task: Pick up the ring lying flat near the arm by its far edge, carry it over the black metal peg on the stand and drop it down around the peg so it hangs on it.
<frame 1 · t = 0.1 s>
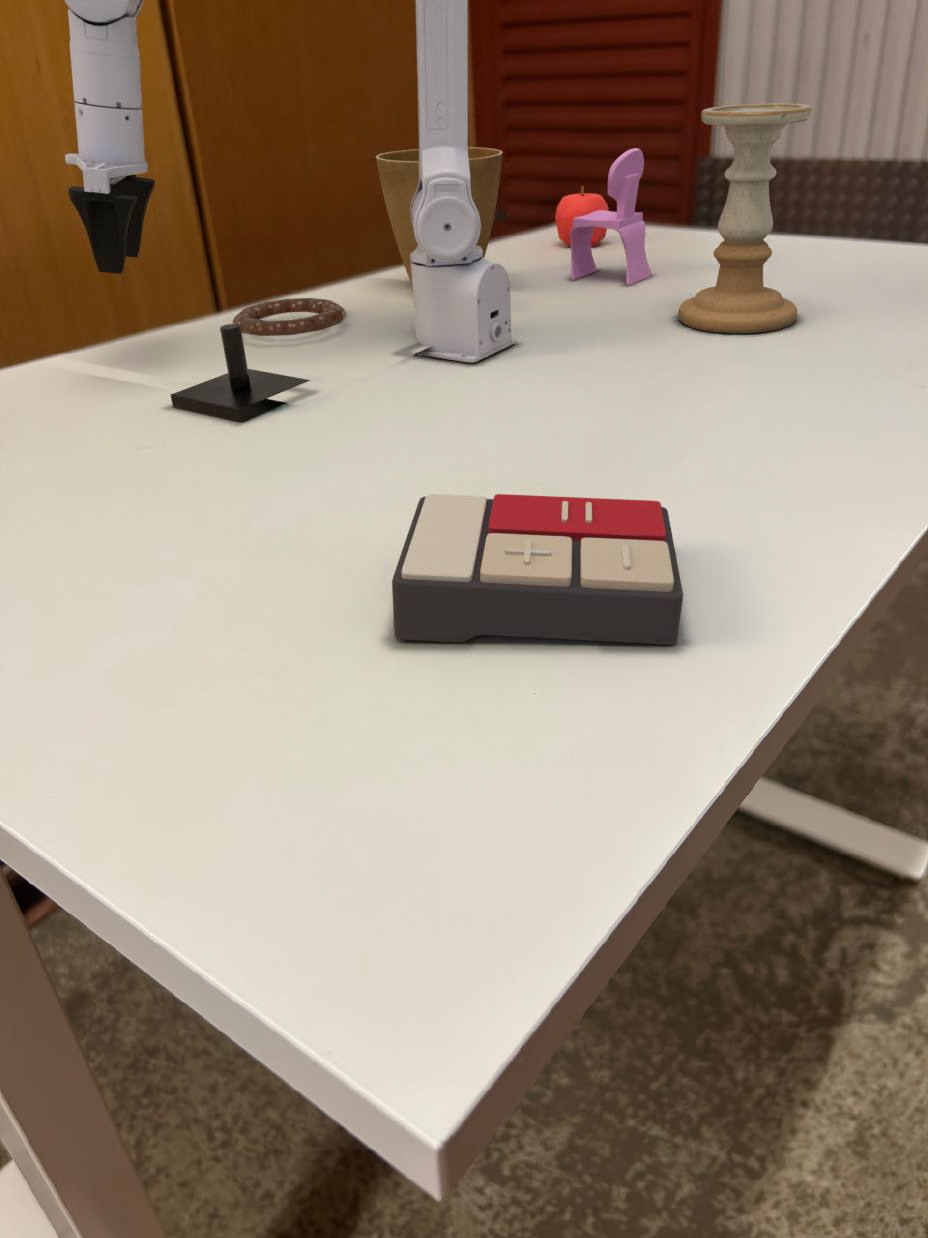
hand: (119, 263, 92), 11 cm above the table, tool pointing down, fingers open, 7 cm apart
apple: (581, 245, 143), on the table
candle holder: (736, 320, 103), on the table
toy chair: (609, 278, 123), on the table
plant pot: (447, 294, 121), on the table
calculator: (538, 595, 55), on the table
peg stand: (243, 399, 88), on the table
ring: (289, 319, 108), point 1 cm above the table
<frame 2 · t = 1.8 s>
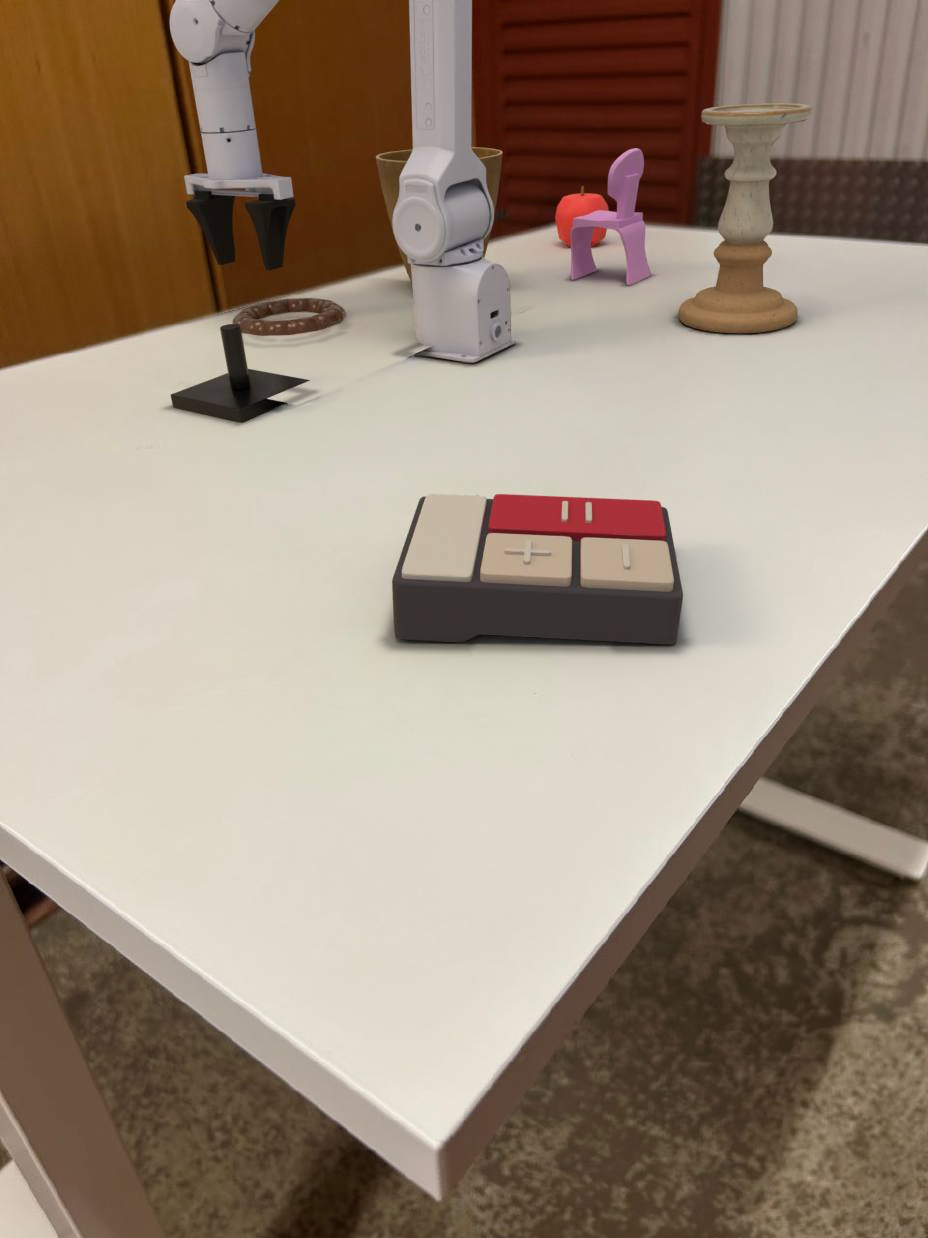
hand: (250, 265, 108), 7 cm above the table, tool pointing down, fingers open, 7 cm apart
nothing on the table moved.
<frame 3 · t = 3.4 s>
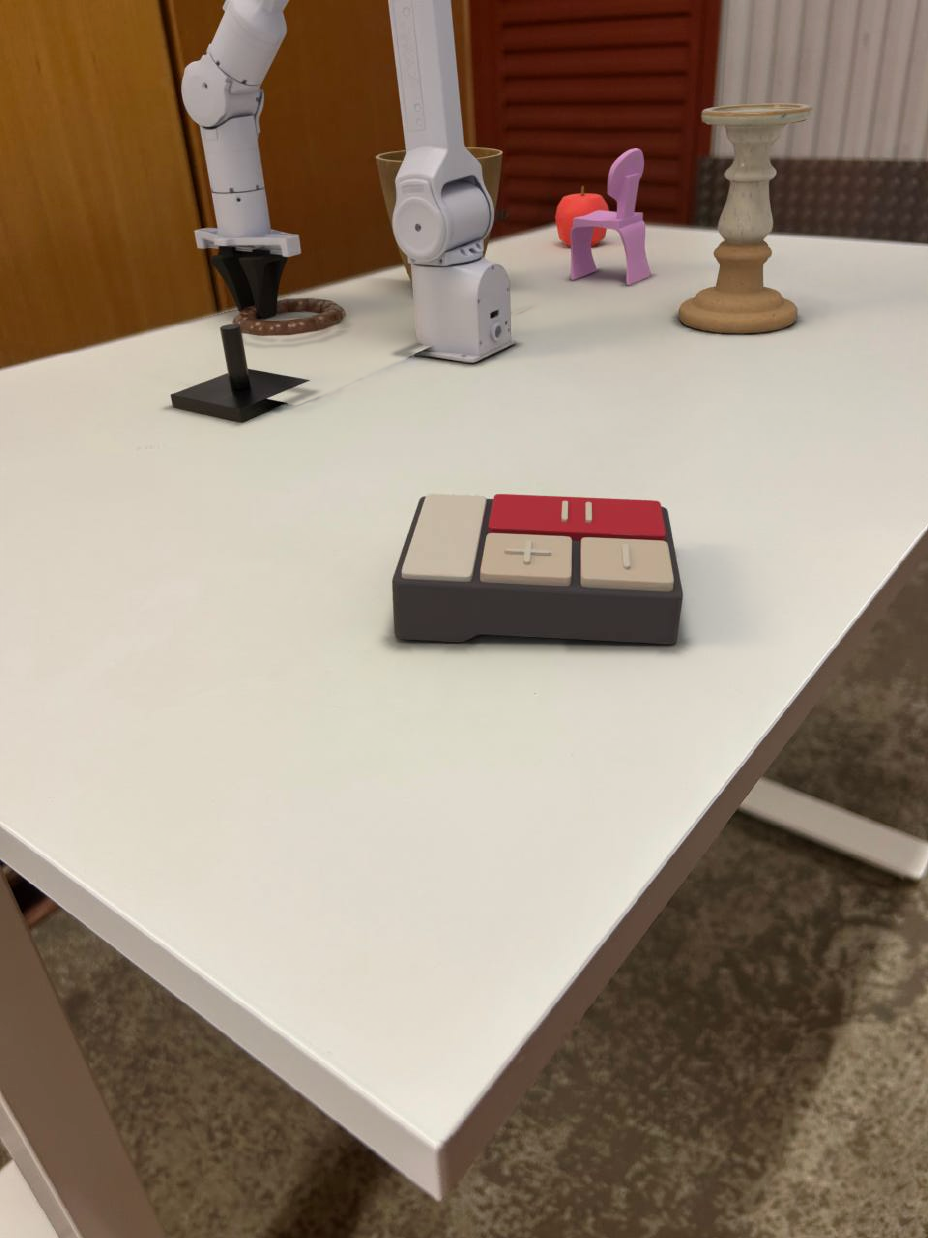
hand: (258, 317, 111), 1 cm above the table, tool pointing down, fingers closed on ring, 2 cm apart
ring: (289, 319, 108), point 1 cm above the table, touching gripper
everything else where it was.
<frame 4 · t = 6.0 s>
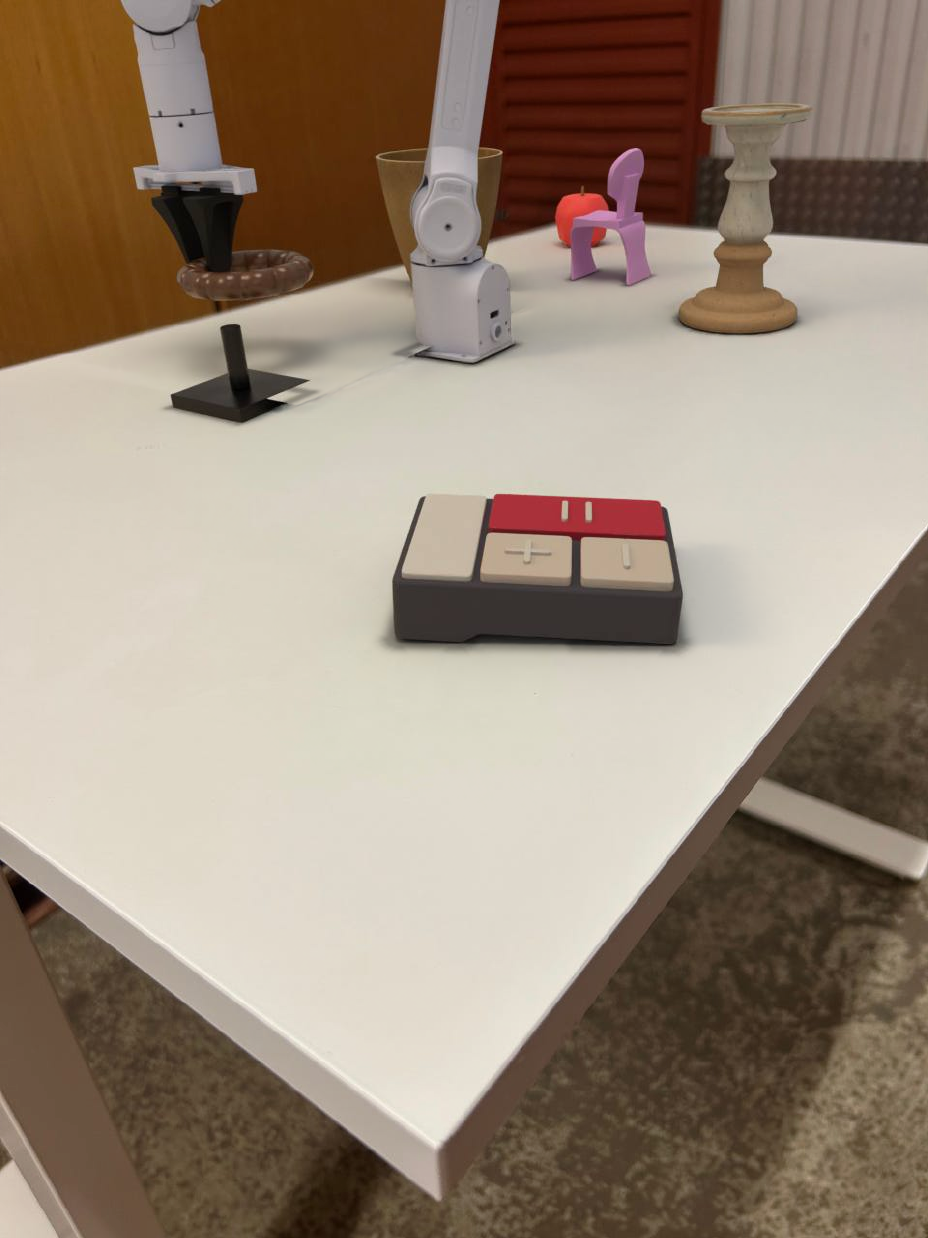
hand: (210, 271, 93), 9 cm above the table, tool pointing down, fingers closed on ring, 2 cm apart
ring: (245, 273, 90), point 9 cm above the table, touching gripper
everything else where it was.
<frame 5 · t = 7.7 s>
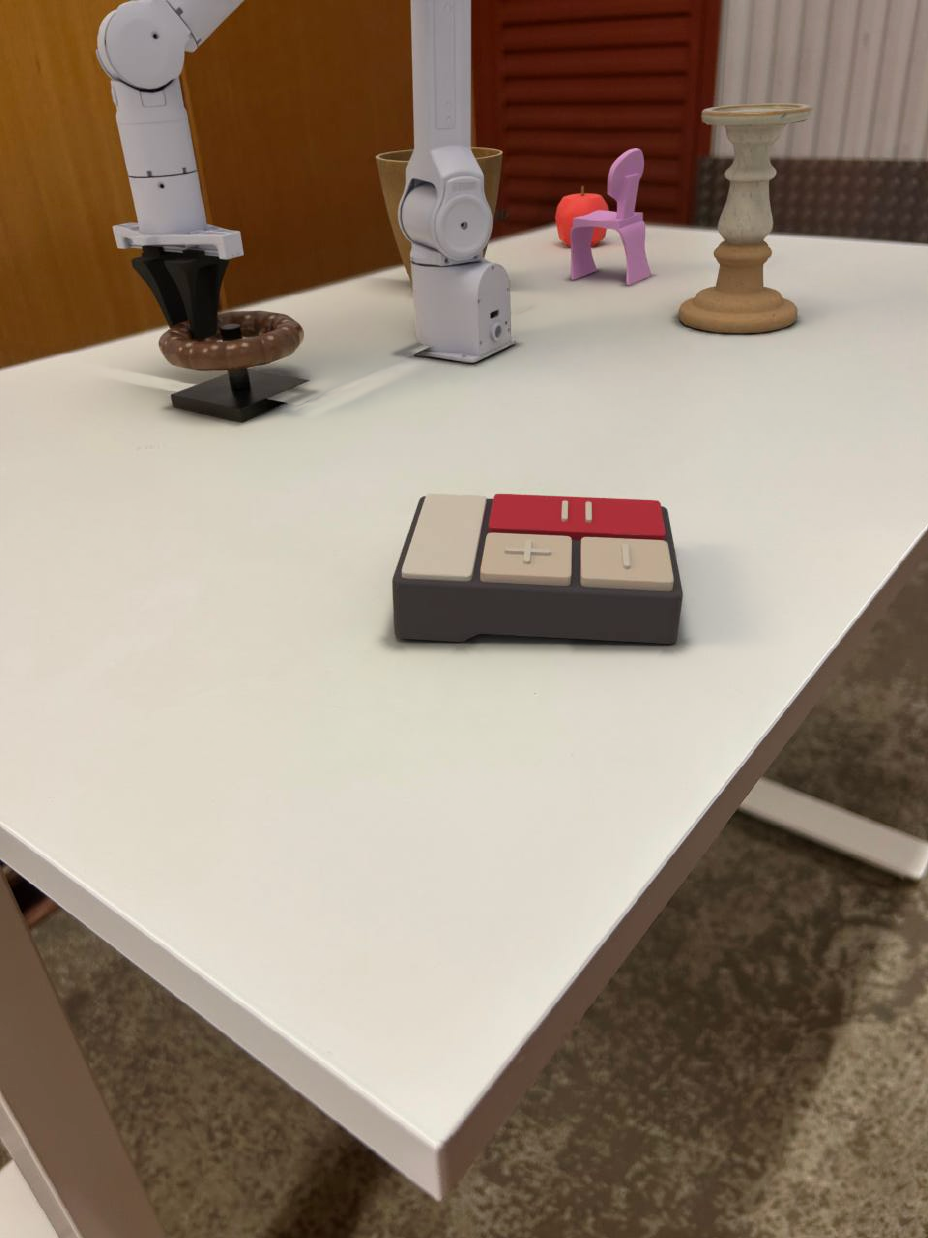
hand: (194, 334, 88), 5 cm above the table, tool pointing down, fingers closed on ring, 2 cm apart
ring: (232, 339, 85), point 6 cm above the table, touching gripper
everything else where it was.
when the fingers open (2 cm above the table, at t = 8.8 s): ring stays where it is, resting on peg stand.
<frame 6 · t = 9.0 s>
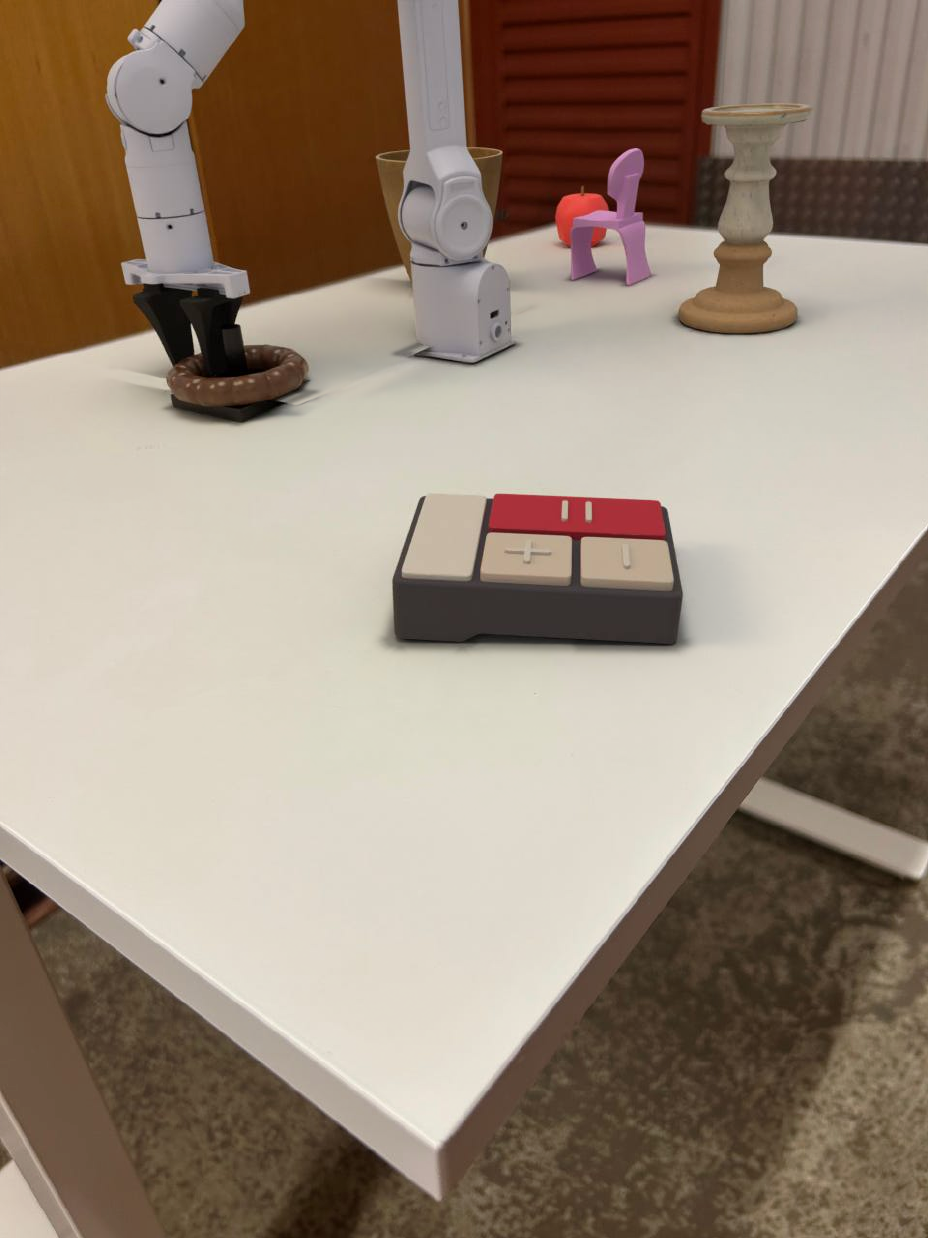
hand: (201, 368, 90), 2 cm above the table, tool pointing down, fingers open, 4 cm apart
ring: (238, 374, 87), point 2 cm above the table, touching peg stand
everything else where it was.
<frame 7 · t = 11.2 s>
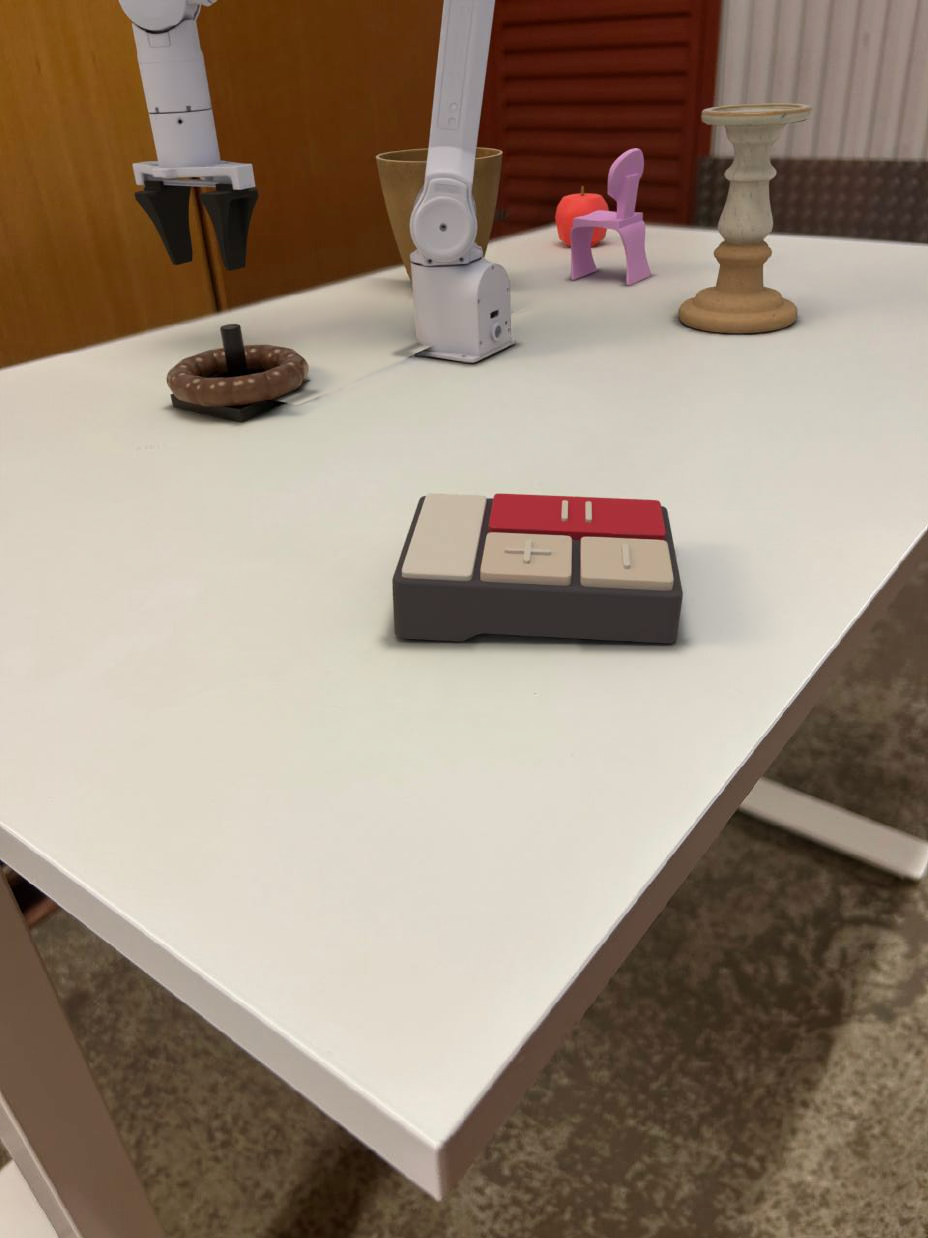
hand: (208, 265, 95), 9 cm above the table, tool pointing down, fingers open, 7 cm apart
nothing on the table moved.
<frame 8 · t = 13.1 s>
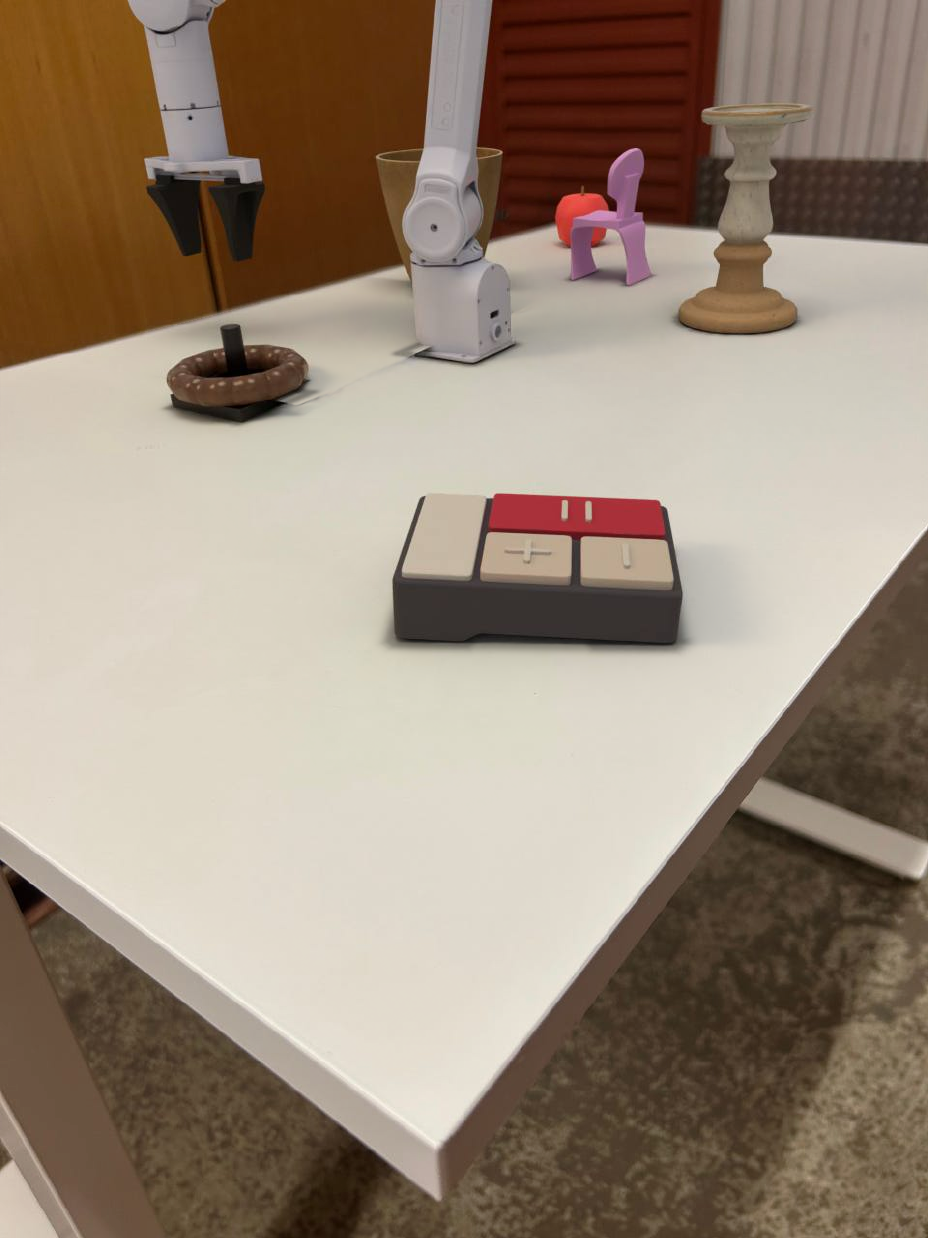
hand: (217, 256, 99), 9 cm above the table, tool pointing down, fingers open, 7 cm apart
nothing on the table moved.
at the end: ring 0.0 cm from the peg stand (horizontally); ring point 2.4 cm above the table; the gripper is holding nothing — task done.
